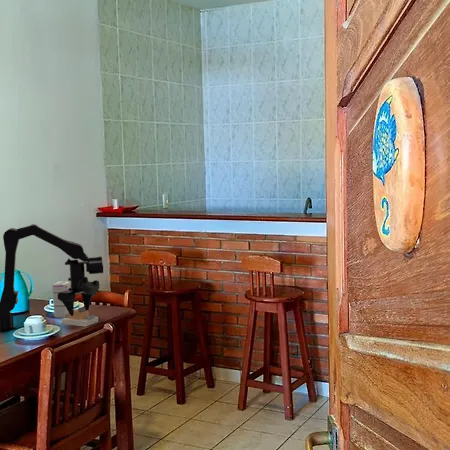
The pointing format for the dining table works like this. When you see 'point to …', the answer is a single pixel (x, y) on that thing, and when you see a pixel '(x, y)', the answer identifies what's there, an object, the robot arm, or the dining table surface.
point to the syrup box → (58, 305)
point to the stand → (85, 322)
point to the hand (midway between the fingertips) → (79, 313)
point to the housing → (79, 314)
